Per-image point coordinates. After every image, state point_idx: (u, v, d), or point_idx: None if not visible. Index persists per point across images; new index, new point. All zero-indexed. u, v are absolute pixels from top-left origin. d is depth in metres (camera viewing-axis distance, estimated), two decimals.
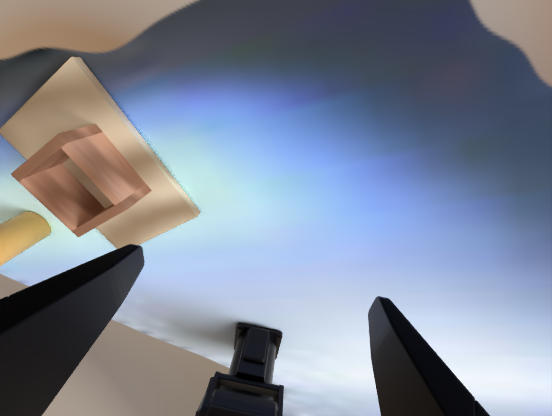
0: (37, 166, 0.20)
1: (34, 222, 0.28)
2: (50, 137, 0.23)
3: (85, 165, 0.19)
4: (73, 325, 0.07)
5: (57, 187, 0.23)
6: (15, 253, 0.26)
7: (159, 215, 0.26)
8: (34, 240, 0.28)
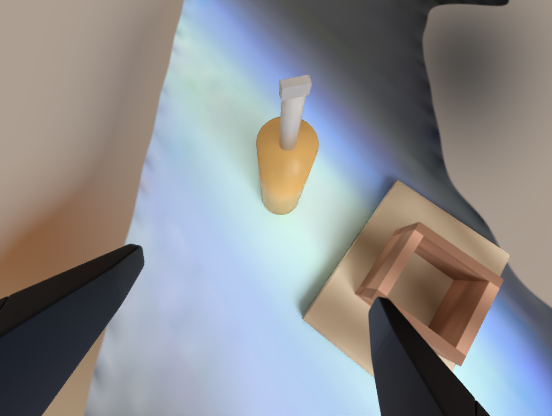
0: (448, 252, 0.19)
1: (297, 203, 0.23)
2: None
3: (486, 308, 0.18)
4: (73, 325, 0.07)
5: None
6: (279, 202, 0.20)
7: None
8: (280, 209, 0.22)
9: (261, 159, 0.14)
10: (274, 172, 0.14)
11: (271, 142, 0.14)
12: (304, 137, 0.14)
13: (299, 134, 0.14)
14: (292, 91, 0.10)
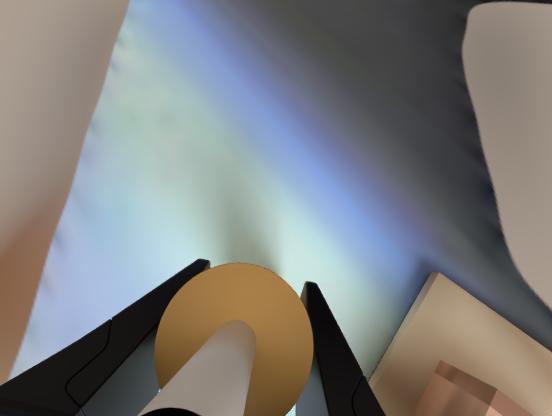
0: None
1: None
2: (482, 362, 0.14)
3: None
4: None
5: None
6: None
7: None
8: None
9: None
10: None
11: (193, 343, 0.06)
12: (278, 325, 0.06)
13: (265, 316, 0.06)
14: None
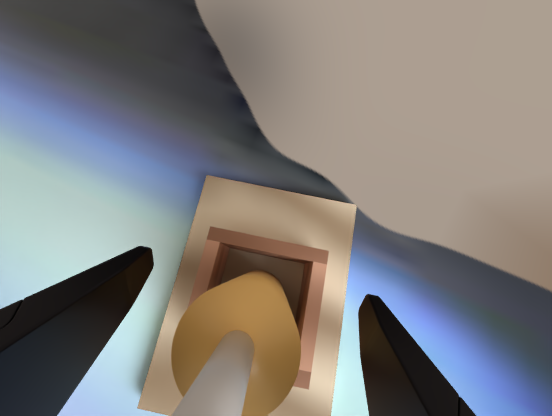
0: (255, 248, 0.14)
1: None
2: (253, 222, 0.18)
3: (318, 298, 0.14)
4: (86, 328, 0.07)
5: (217, 272, 0.15)
6: None
7: None
8: None
9: (181, 387, 0.07)
10: None
11: (202, 349, 0.07)
12: (272, 334, 0.07)
13: (262, 327, 0.07)
14: None
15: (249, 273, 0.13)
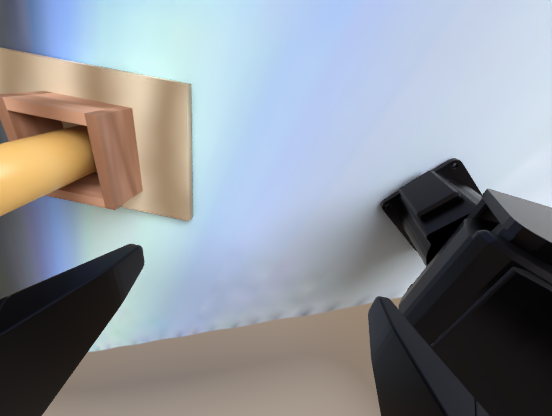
0: None
1: None
2: None
3: (31, 105, 0.16)
4: (73, 325, 0.07)
5: None
6: (76, 163, 0.17)
7: (164, 131, 0.20)
8: None
9: None
10: None
11: None
12: None
13: None
14: None
15: None
